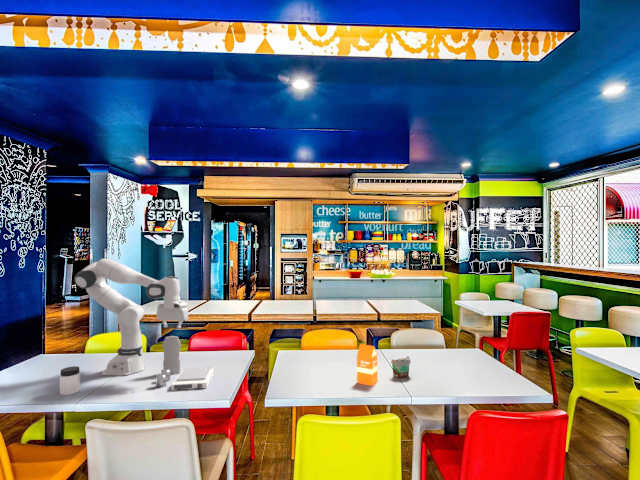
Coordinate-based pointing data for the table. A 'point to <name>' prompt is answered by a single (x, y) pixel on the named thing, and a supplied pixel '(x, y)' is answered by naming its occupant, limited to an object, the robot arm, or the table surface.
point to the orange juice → (366, 365)
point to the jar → (69, 380)
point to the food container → (401, 367)
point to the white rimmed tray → (193, 378)
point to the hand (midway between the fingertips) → (172, 327)
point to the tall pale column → (172, 354)
